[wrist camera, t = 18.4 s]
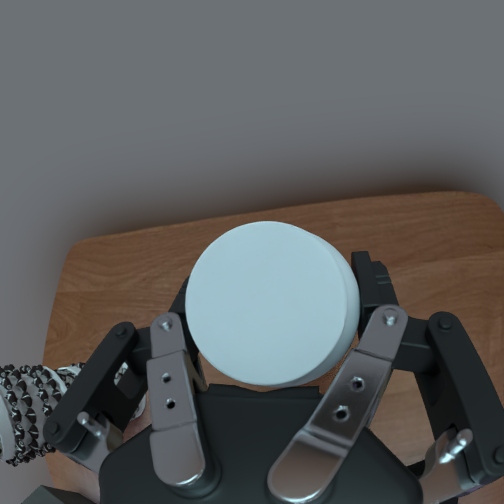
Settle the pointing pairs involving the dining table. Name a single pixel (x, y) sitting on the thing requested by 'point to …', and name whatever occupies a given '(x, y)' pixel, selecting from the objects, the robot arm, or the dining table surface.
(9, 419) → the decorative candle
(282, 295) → the pill bottle
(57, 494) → the planter
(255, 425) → the robot arm
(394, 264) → the dining table surface
